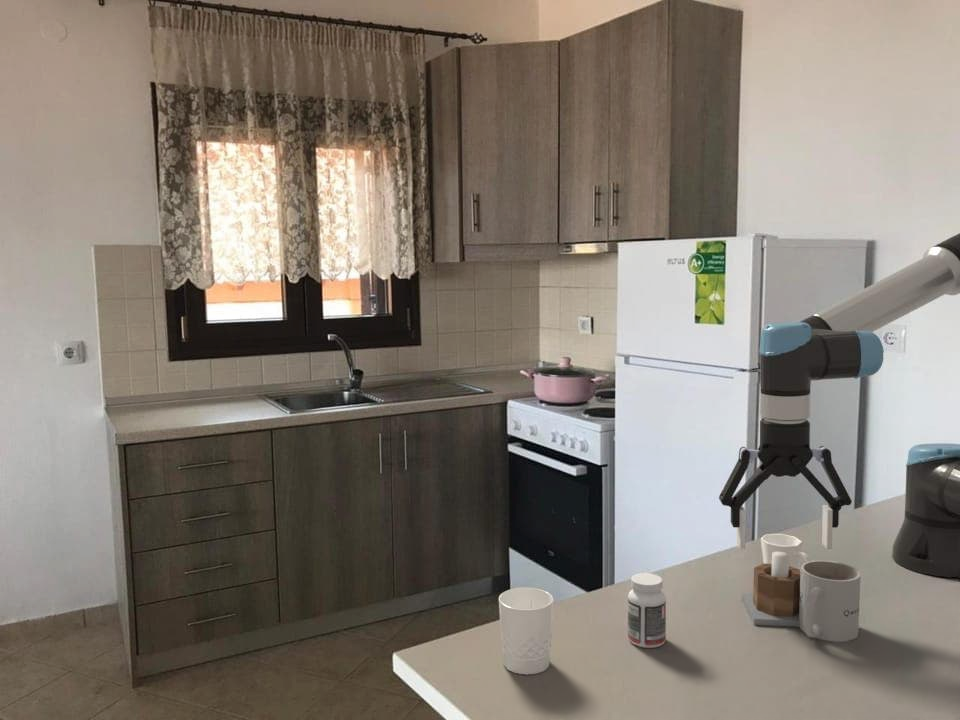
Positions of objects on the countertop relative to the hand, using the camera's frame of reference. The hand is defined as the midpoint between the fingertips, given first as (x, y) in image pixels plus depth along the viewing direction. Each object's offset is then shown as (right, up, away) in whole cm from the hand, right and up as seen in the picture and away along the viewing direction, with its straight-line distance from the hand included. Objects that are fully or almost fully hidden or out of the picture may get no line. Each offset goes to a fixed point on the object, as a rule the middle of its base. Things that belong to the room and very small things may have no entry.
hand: (783, 546), depth 132 cm
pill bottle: (-24, -13, -8) cm, 29 cm away
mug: (+4, -13, -6) cm, 14 cm away
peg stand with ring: (0, -11, +1) cm, 11 cm away
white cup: (-43, -14, -14) cm, 48 cm away
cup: (+5, -10, +12) cm, 17 cm away
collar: (-1, -10, +1) cm, 10 cm away
